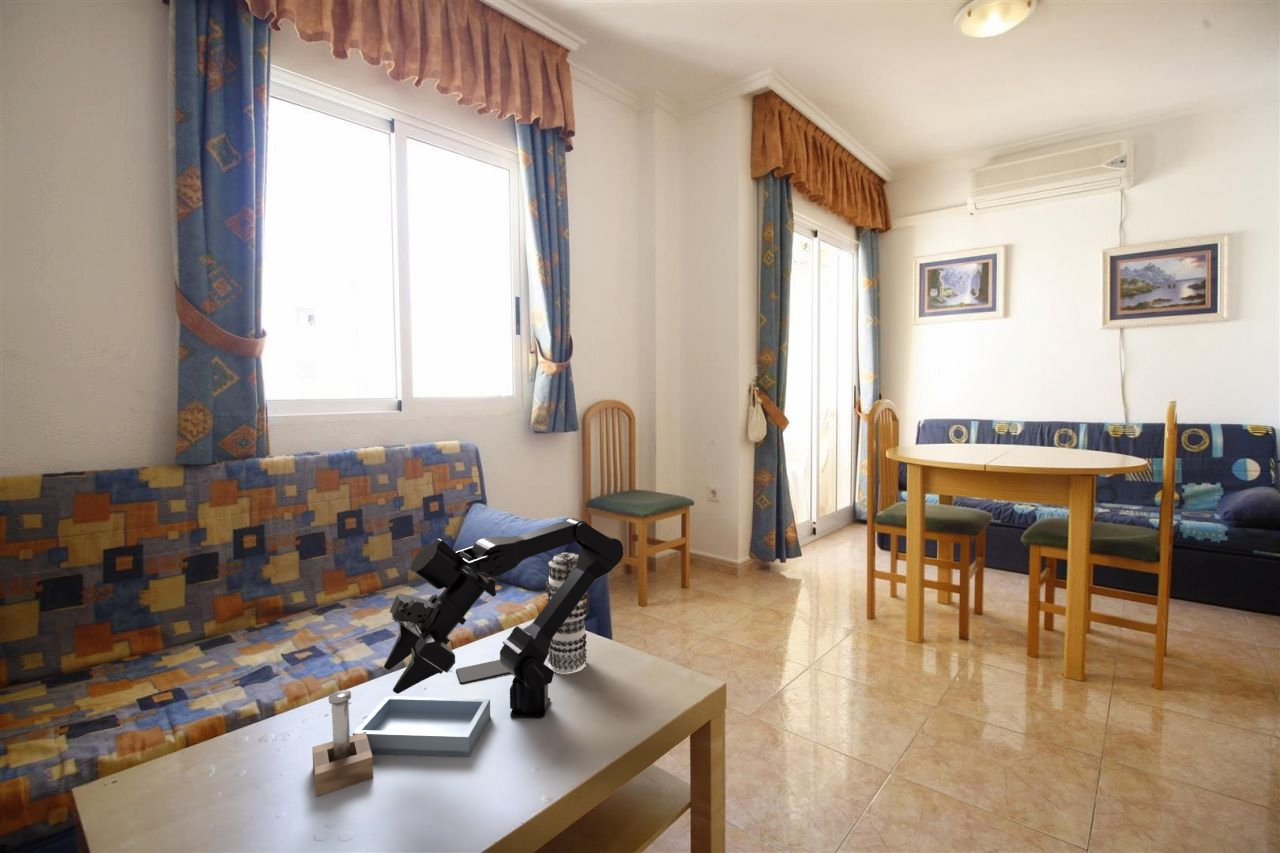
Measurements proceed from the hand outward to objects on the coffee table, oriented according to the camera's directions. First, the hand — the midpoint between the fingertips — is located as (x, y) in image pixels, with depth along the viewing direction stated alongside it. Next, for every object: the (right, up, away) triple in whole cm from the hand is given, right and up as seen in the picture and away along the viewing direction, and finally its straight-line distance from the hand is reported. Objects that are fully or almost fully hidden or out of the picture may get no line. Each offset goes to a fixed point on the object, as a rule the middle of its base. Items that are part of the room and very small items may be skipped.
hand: (390, 679), depth 98 cm
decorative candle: (+26, -11, +33) cm, 43 cm away
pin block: (-6, -14, -3) cm, 15 cm away
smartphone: (+9, -12, +31) cm, 34 cm away
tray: (+3, -13, +7) cm, 15 cm away
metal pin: (-6, -14, -3) cm, 15 cm away
